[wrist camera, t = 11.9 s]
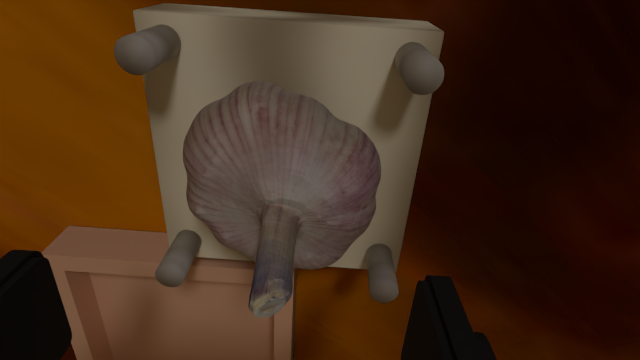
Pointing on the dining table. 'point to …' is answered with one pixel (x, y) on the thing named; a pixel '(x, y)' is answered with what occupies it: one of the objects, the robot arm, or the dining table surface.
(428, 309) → the robot arm
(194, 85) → the peg rest
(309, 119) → the garlic bulb
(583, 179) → the dining table surface
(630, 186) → the dining table surface
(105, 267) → the terracotta dish
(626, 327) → the dining table surface
